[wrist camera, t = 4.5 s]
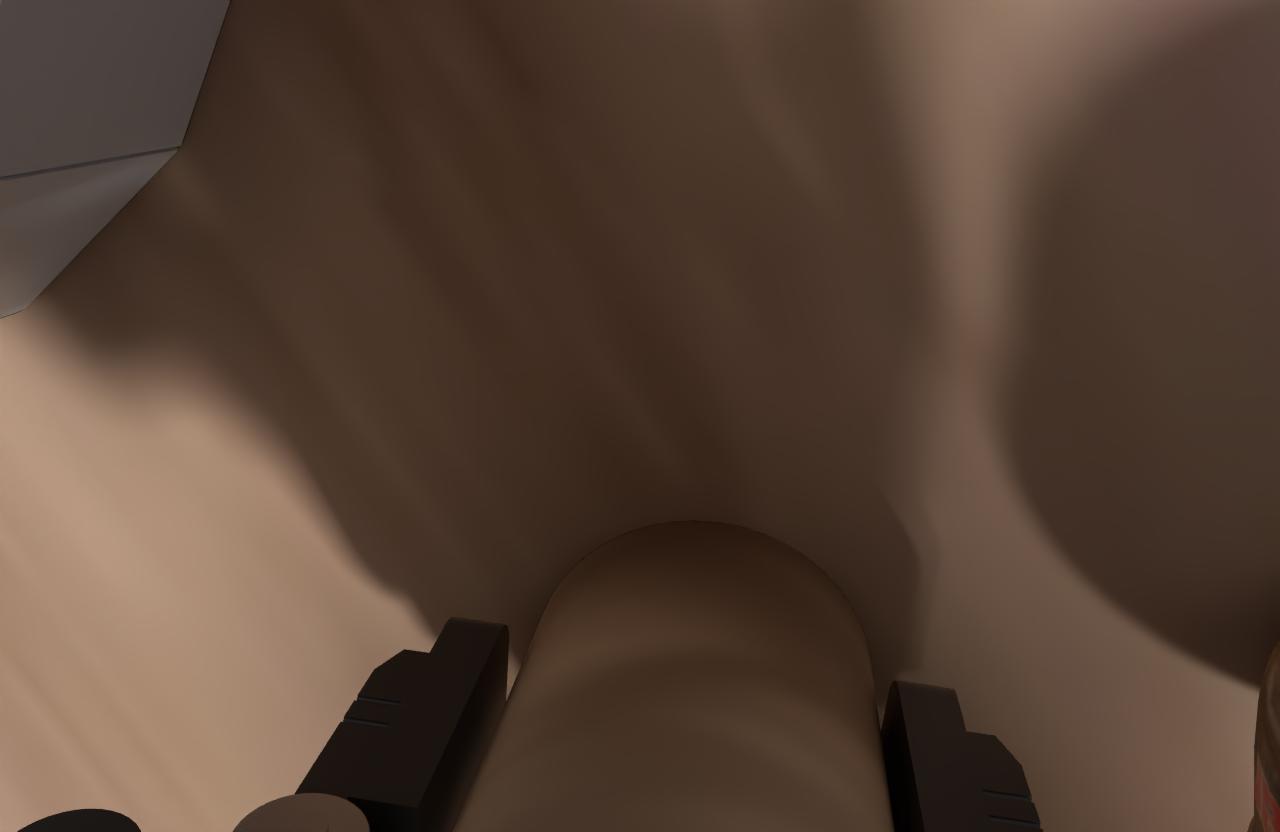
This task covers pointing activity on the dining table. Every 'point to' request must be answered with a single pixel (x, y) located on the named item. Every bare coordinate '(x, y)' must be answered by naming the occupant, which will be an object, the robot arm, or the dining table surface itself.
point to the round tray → (88, 119)
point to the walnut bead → (689, 697)
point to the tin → (1268, 751)
